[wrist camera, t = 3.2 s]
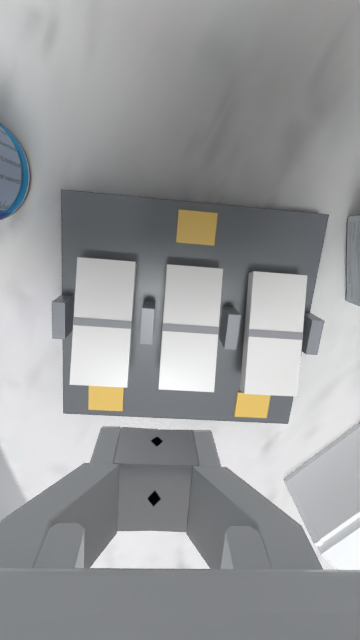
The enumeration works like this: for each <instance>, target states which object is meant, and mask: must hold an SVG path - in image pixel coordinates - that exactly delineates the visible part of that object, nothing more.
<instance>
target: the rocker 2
mask: <svg viewBox="0 0 360 640" xmlns="http://www.w3.org/2000/svg"><path fill="white" fill-rule="evenodd" d="M222 277H223V269H220V268H207V267H195V266H182V265H170V264H167V268H166V283H165V297H164V312H163V327H162V341H161V356H160V370H159V385H158V386H159V389H161V390H180V391H199V392H214V387H215V373H216V359H217V345H218V334H219V318H220V304H221V290H222Z"/></svg>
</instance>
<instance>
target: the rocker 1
mask: <svg viewBox="0 0 360 640" xmlns="http://www.w3.org/2000/svg"><path fill="white" fill-rule="evenodd" d="M136 265H137V264H136V262H132V261H120V260H107V259H95V258H82V257H77V271H76V287H75V303H74V317H73V336H72V352H71V368H70V384H69V385H85V386H104V387H123V388H127V387H128V384H129V371H130V355H131V340H132V325H133V310H134V295H135V280H136Z"/></svg>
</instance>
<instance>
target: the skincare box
mask: <svg viewBox="0 0 360 640" xmlns="http://www.w3.org/2000/svg"><path fill="white" fill-rule="evenodd" d="M346 300H347V302H350V303H353V304H355V305H358V306H360V215H356V216H350V217H348V229H347V297H346Z"/></svg>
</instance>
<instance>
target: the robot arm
mask: <svg viewBox="0 0 360 640" xmlns="http://www.w3.org/2000/svg"><path fill="white" fill-rule="evenodd" d="M117 531H173V532H187V535H188V537H189V538H190V540H191V541H192V543H193V544H194V545H195V547H196V548H197V550H198V551H199V553H200V554H201V556H202V557H203V559H204V560H205V561H206V563H207V564H208V566H209V567H210V569H119V568H90V567H91V565H92V564H93V563H94V562H95V560H96V559H97V558H98V556H99V555H100V554H101V553H102V551H103V550H104V549H105V548H106V546H107V545H108V544H109V542H110V541H111V540H112V539H113V537H114V536H115V535H116V533H117ZM0 640H360V570H323V568H322V566H321V564H320V562H319V560H318V558H317V556H316V554H315V552H314V550H313V548H312V546H311V544H310V542H309V540H308V538H307V536H306V534H305V532H304V530H303V528H302V526H301V525H300V524H299V523H297V522H296V521H295V520H293V519H292V518H291V517H290V516H288V515H287V514H286V513H285V512H283V511H282V510H281V509H279V508H278V507H277V506H276V505H274V504H273V503H272V502H270V501H269V500H268V499H267V498H265V497H264V496H263V495H262V494H260V493H259V492H258V491H256V490H255V489H254V488H253V487H251V486H250V485H249V484H247V483H246V482H245V481H244V480H242V479H241V478H240V477H238V476H237V475H236V474H235V473H233V472H232V471H231V470H230V469H228V468H227V467H221V464H220V460H219V457H218V453H217V449H216V446H215V442H214V439H213V435H212V432H211V431H210V430H157V429H146V428H129V427H109V426H103V427H102V428H101V429H100V433H99V436H98V439H97V442H96V445H95V448H94V452H93V455H92V458H91V461H90V463H84V464H82V465H81V466H79V467H78V468H76V469H75V470H73V471H72V472H71V473H69V474H68V475H66V476H65V477H63V478H62V479H60V480H59V481H57V482H56V483H55V484H53V485H52V486H50V487H49V488H47V489H46V490H44V491H43V492H42V493H40V494H39V495H37V496H36V497H34V498H33V499H31V500H30V501H28V502H27V503H26V504H24V505H23V506H21V507H20V508H18V509H17V510H15V511H14V512H12V513H11V514H10V515H8V516H7V517H6V518H4V519H2V520H1V522H0Z"/></svg>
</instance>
